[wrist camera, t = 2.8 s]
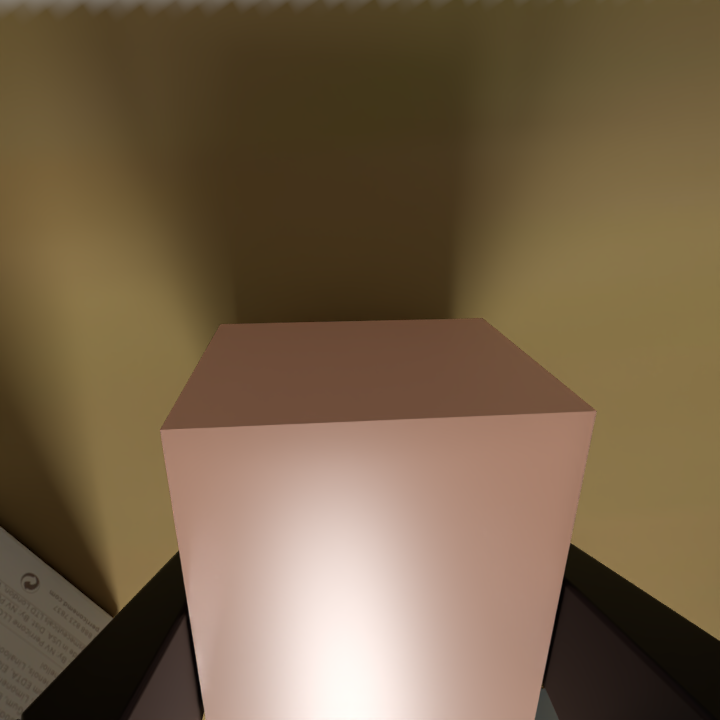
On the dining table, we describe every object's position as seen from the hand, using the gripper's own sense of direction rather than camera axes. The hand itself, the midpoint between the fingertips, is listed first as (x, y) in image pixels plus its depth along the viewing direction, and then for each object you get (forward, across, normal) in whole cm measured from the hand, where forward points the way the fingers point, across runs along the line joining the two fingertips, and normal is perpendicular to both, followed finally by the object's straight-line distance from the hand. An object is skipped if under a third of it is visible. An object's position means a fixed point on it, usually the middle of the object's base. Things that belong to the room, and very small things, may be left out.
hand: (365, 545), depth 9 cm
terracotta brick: (+2, 0, 0) cm, 2 cm away
